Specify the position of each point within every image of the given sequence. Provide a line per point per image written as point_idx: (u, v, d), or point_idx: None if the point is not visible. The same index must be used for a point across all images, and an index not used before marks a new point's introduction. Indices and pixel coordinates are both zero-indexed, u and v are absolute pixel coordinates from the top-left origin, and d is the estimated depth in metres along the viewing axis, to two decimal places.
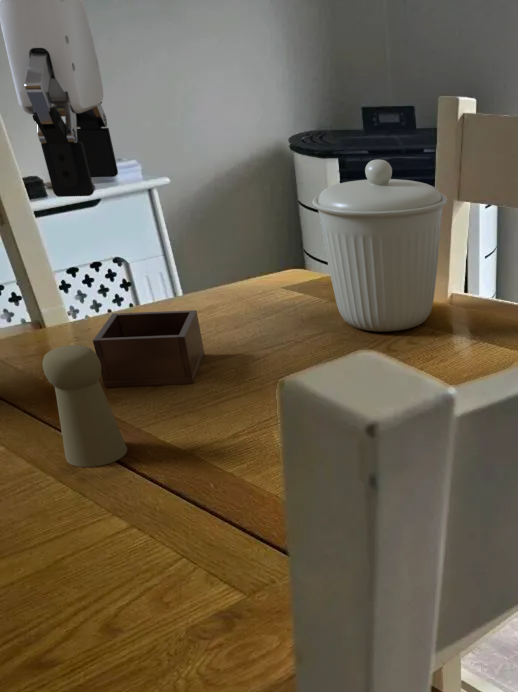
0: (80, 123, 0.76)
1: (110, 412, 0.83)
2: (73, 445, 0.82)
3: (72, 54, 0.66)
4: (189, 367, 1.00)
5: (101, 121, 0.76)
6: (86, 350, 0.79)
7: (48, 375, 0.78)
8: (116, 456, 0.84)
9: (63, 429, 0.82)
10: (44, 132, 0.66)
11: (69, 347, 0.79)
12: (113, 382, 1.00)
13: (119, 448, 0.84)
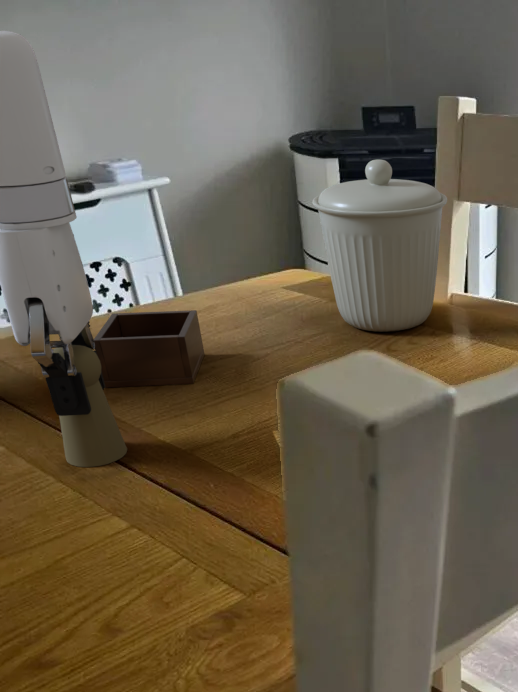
0: None
1: (110, 412, 0.83)
2: (73, 445, 0.82)
3: (63, 297, 0.73)
4: (189, 367, 1.00)
5: (89, 346, 0.82)
6: (86, 350, 0.79)
7: None
8: (116, 456, 0.84)
9: (63, 429, 0.82)
10: (47, 371, 0.75)
11: None
12: (113, 382, 1.00)
13: (119, 448, 0.84)
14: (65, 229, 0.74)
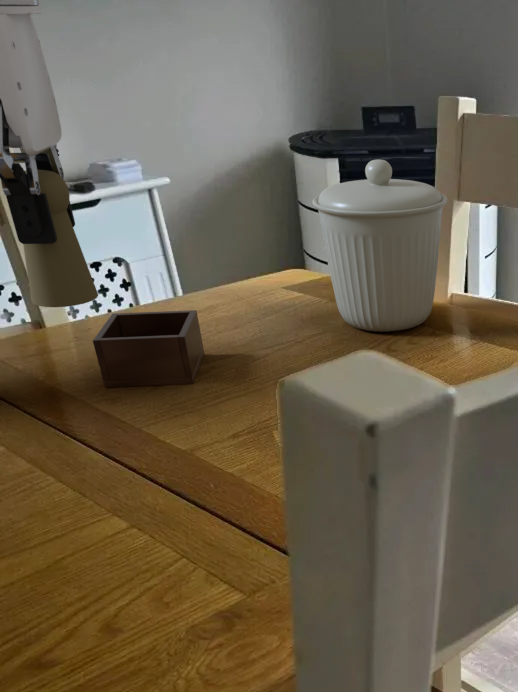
0: None
1: (79, 249, 0.77)
2: (38, 282, 0.76)
3: (25, 99, 0.67)
4: (189, 367, 1.00)
5: None
6: (53, 173, 0.74)
7: None
8: (85, 298, 0.78)
9: (28, 264, 0.76)
10: (8, 185, 0.69)
11: None
12: (113, 382, 1.00)
13: (89, 290, 0.79)
14: (28, 27, 0.68)
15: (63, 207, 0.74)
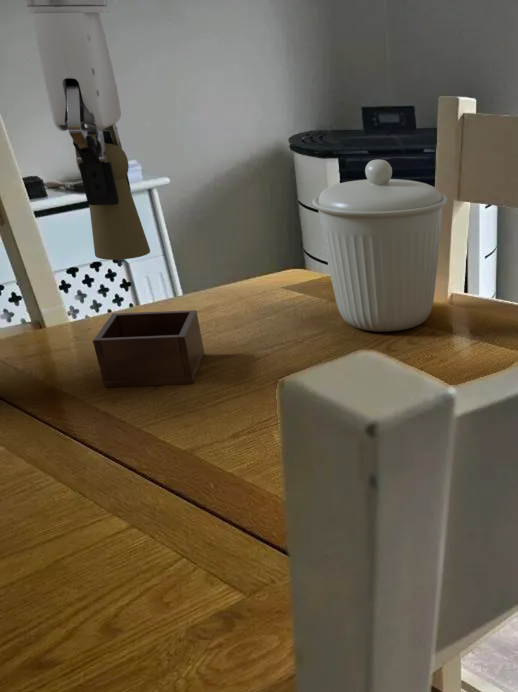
0: None
1: (136, 210, 0.92)
2: (102, 238, 0.91)
3: (97, 82, 0.82)
4: (189, 367, 1.00)
5: None
6: (115, 146, 0.88)
7: None
8: (141, 252, 0.93)
9: (93, 223, 0.91)
10: (81, 154, 0.84)
11: None
12: (113, 382, 1.00)
13: (143, 246, 0.93)
14: (98, 23, 0.82)
15: (124, 174, 0.89)
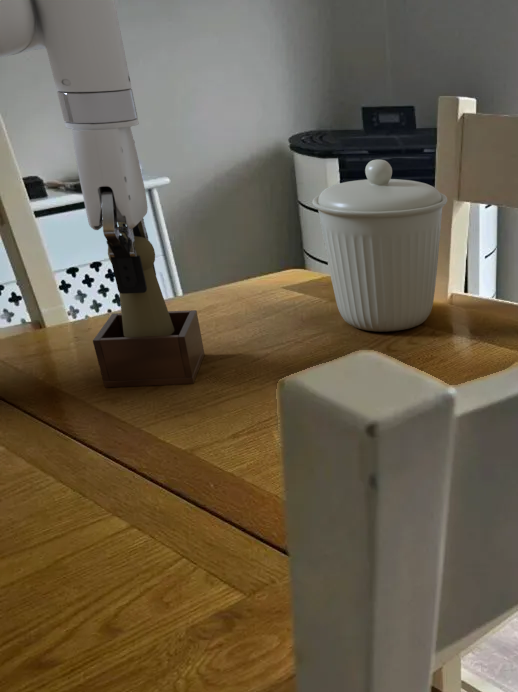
0: None
1: (161, 295, 1.00)
2: (131, 321, 0.99)
3: (129, 188, 0.90)
4: (189, 367, 1.00)
5: None
6: (143, 239, 0.96)
7: None
8: (166, 333, 1.01)
9: (123, 307, 0.99)
10: (114, 251, 0.92)
11: None
12: (113, 382, 1.00)
13: (168, 326, 1.01)
14: (129, 133, 0.90)
15: (151, 264, 0.97)
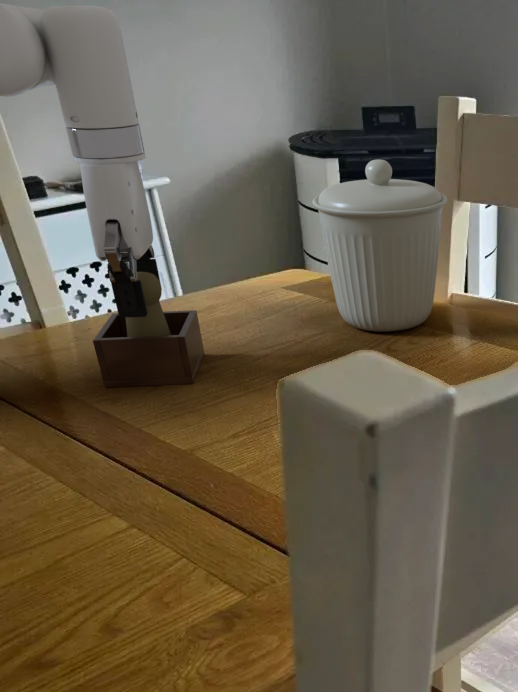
0: None
1: (167, 328, 1.02)
2: None
3: (135, 221, 0.91)
4: (189, 367, 1.00)
5: (150, 254, 1.02)
6: (150, 275, 0.98)
7: None
8: None
9: None
10: (114, 276, 0.92)
11: (137, 272, 0.98)
12: (113, 382, 1.00)
13: None
14: (136, 167, 0.92)
15: (158, 299, 0.99)
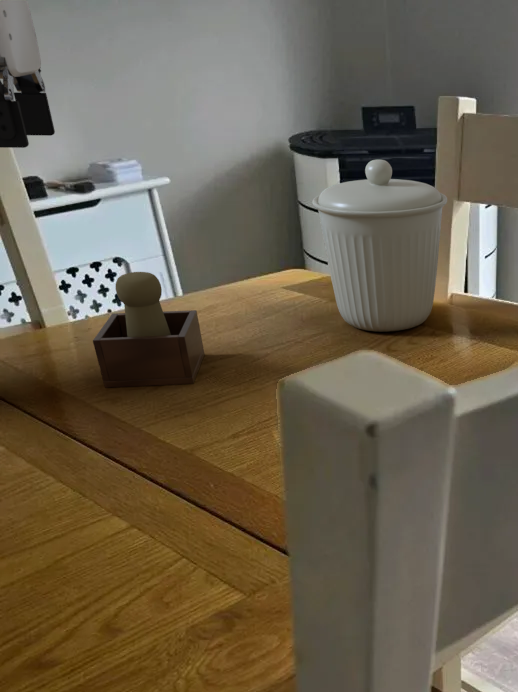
0: (21, 88, 0.88)
1: (167, 328, 1.02)
2: None
3: (9, 26, 0.78)
4: (189, 367, 1.00)
5: (39, 86, 0.88)
6: (150, 275, 0.98)
7: (120, 294, 0.97)
8: None
9: None
10: None
11: (137, 272, 0.98)
12: (113, 382, 1.00)
13: None
14: None
15: (158, 299, 0.99)
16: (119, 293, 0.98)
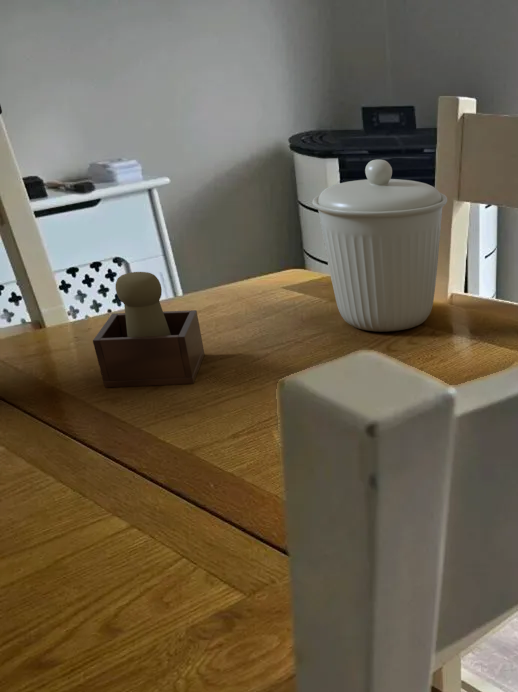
0: None
1: (167, 328, 1.02)
2: None
3: None
4: (189, 367, 1.00)
5: None
6: (150, 275, 0.98)
7: (120, 294, 0.97)
8: None
9: None
10: None
11: (137, 272, 0.98)
12: (113, 382, 1.00)
13: None
14: None
15: (158, 299, 0.99)
16: (119, 293, 0.98)
